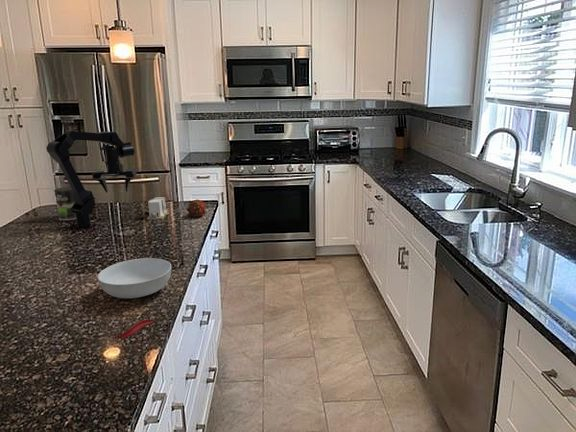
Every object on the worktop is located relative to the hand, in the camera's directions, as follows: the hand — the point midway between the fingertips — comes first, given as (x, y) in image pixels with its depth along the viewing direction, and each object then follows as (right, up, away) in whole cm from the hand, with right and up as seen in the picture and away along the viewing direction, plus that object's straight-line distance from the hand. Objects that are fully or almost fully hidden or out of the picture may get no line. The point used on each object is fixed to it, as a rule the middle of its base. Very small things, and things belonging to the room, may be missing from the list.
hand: (117, 192), depth 221 cm
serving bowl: (+36, -34, -80) cm, 94 cm away
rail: (+18, -11, +3) cm, 22 cm away
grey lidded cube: (+19, -11, 0) cm, 21 cm away
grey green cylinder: (-24, -12, +4) cm, 27 cm away
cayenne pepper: (+42, -40, -103) cm, 118 cm away
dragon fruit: (+38, -11, +1) cm, 39 cm away
